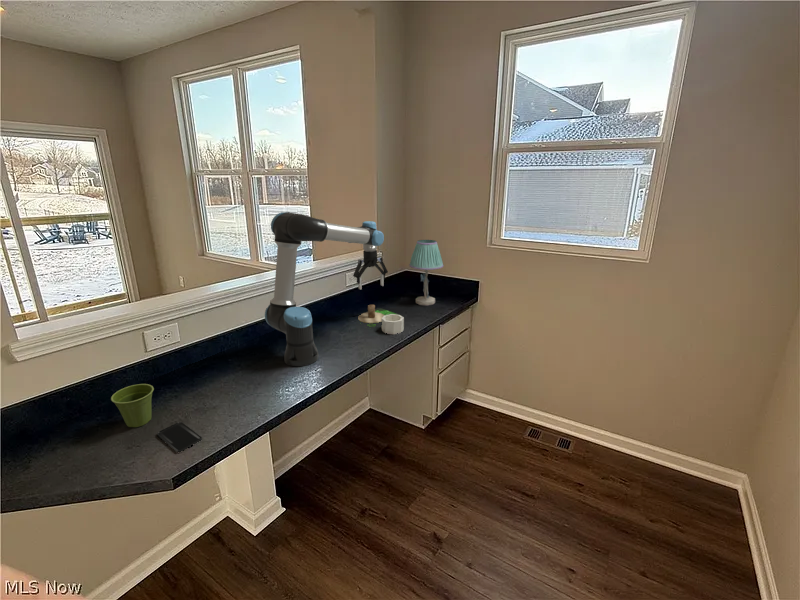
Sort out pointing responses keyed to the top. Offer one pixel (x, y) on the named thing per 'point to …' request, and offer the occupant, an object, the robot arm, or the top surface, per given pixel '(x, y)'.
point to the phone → (179, 436)
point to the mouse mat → (382, 311)
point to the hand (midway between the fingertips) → (371, 287)
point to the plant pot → (134, 404)
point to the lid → (371, 316)
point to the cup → (392, 324)
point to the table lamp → (426, 265)
